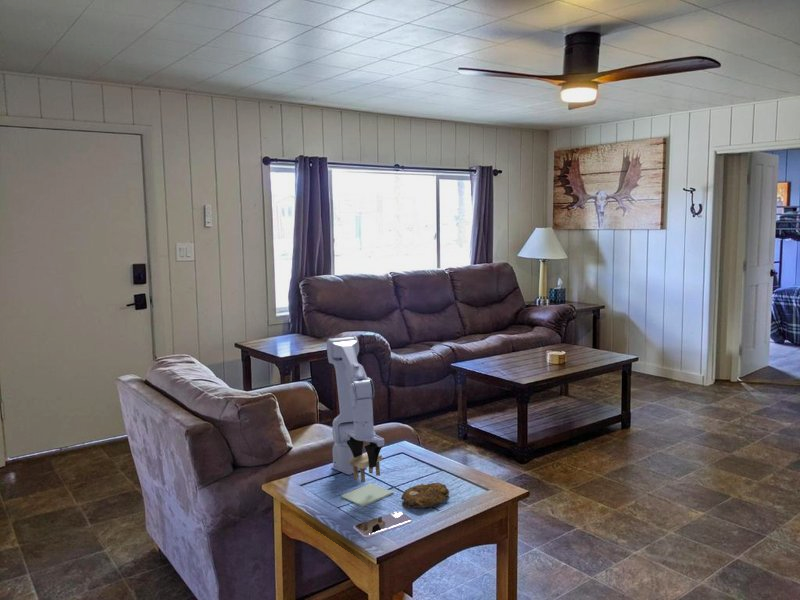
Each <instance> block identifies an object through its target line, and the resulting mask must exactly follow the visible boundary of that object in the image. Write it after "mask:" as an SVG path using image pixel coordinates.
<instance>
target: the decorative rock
mask: <svg viewBox="0 0 800 600" xmlns="http://www.w3.org/2000/svg"><path fill="white" fill-rule="evenodd" d="M450 493H451V492H450V489H448V488H447V485H446V484H443V483H440V482H433V483H428V484H423V483H421V484H418V485H414V486H411V487H409V488H407V489H405V490H404V492H403V493H402V495H401V499H402V505H403V507H404V508H406V507H407V509H411V507H412V508H413V509H422V508H424V509H426V508H428V509H429V508H431V507H433V506H435V505H440V503H443V502H445V500H447V497H448V496H449V495H450Z"/></svg>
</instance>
